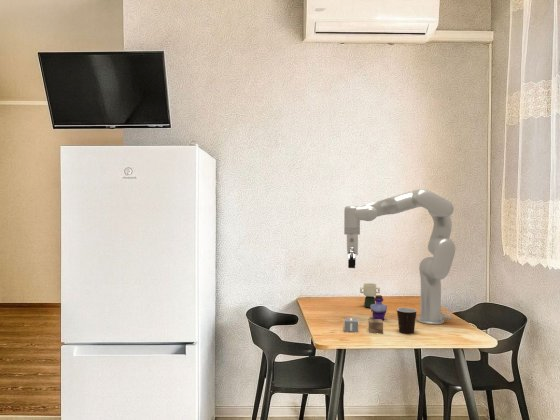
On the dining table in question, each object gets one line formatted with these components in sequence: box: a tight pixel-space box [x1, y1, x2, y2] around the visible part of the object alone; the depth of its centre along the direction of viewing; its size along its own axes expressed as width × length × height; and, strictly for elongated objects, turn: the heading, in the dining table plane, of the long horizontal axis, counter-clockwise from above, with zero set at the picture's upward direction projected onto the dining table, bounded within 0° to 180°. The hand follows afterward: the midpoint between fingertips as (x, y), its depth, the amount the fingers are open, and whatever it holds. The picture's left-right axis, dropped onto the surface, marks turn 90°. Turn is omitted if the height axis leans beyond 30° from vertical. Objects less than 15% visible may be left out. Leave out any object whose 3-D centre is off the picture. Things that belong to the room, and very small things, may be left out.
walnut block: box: [368, 318, 384, 335], centre depth 202 cm, size 6×6×5 cm
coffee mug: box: [396, 307, 417, 335], centre depth 200 cm, size 12×9×10 cm
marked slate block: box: [343, 317, 359, 333], centre depth 204 cm, size 6×6×5 cm
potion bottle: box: [370, 294, 388, 322], centre depth 224 cm, size 9×9×12 cm
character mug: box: [359, 282, 381, 309], centre depth 250 cm, size 11×7×13 cm, turn 88°
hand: (351, 266), depth 217 cm, fingers open, 9 cm apart
